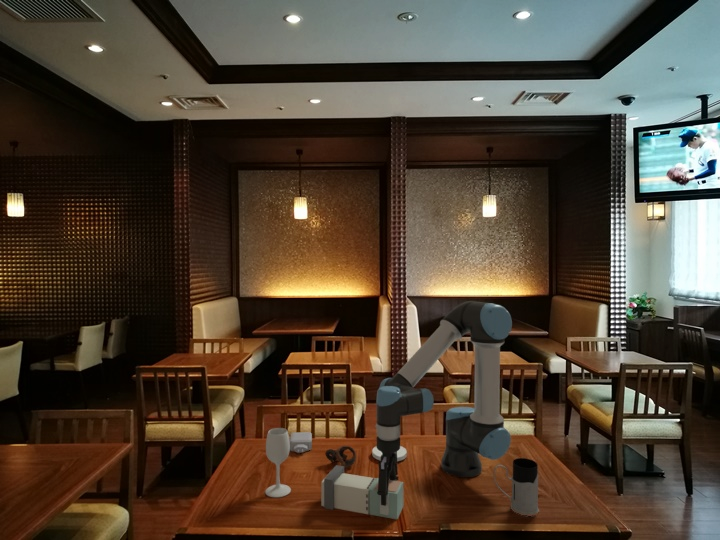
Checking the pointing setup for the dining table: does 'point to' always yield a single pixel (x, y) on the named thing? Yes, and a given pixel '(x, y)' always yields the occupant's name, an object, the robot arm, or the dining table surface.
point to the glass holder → (523, 486)
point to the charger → (300, 441)
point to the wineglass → (277, 458)
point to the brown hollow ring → (341, 456)
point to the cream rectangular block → (346, 491)
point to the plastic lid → (400, 453)
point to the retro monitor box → (394, 499)
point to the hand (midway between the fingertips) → (388, 506)
